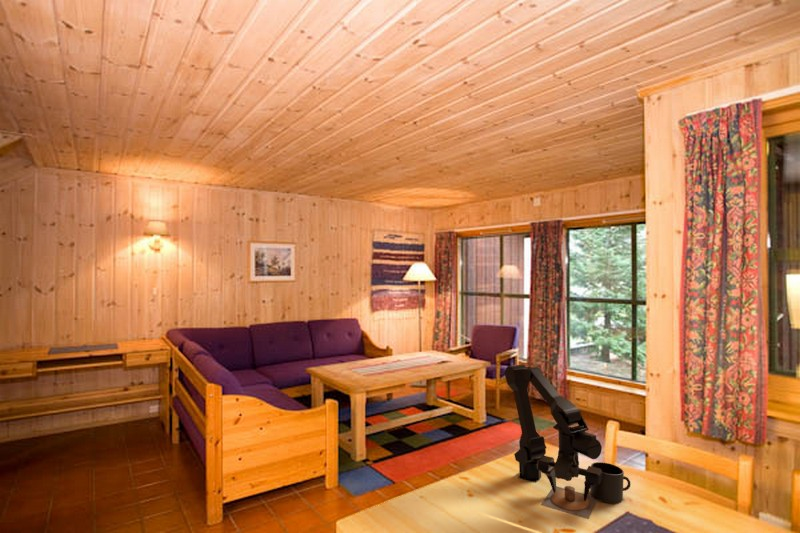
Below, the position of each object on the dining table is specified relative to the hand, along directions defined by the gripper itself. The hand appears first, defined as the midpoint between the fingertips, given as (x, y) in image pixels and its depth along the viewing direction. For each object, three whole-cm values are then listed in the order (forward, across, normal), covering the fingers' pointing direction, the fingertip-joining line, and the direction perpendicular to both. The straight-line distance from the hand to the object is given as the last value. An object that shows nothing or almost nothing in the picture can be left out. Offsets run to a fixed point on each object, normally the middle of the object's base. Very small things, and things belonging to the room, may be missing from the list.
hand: (569, 496), depth 138 cm
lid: (+2, 0, 0) cm, 2 cm away
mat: (+2, 0, 0) cm, 2 cm away
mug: (+2, +10, +10) cm, 14 cm away
